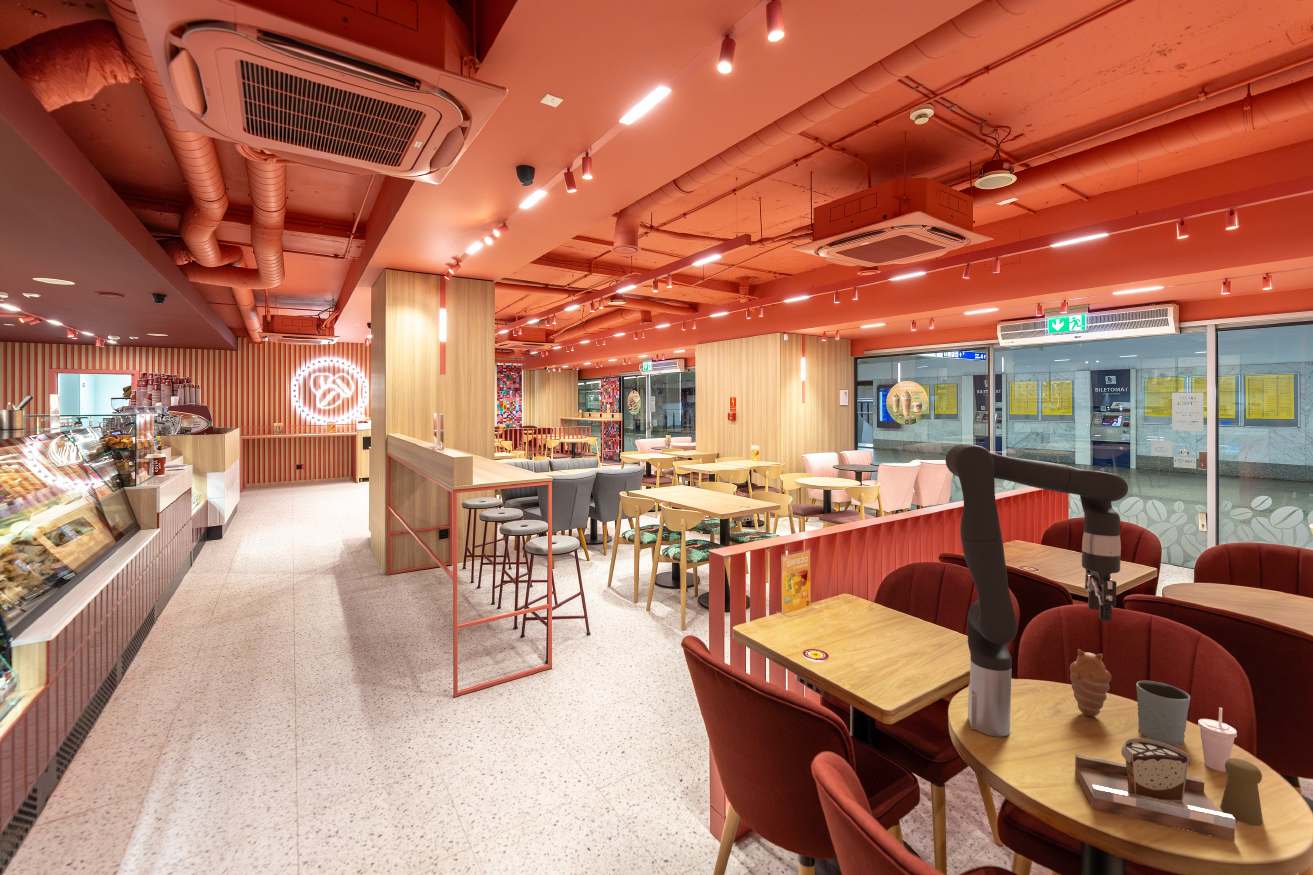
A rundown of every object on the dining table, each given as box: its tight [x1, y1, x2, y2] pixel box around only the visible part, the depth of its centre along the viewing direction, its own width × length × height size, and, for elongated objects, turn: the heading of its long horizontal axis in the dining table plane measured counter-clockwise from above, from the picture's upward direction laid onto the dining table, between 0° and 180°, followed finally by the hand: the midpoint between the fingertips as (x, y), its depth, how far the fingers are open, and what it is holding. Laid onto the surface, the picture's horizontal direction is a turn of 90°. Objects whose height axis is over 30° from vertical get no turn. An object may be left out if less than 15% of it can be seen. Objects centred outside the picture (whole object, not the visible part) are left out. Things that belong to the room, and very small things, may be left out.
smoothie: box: [1197, 707, 1238, 773], centre depth 127 cm, size 6×6×14 cm
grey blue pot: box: [1135, 680, 1191, 746], centre depth 139 cm, size 10×10×12 cm
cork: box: [1219, 757, 1264, 827], centre depth 112 cm, size 6×6×11 cm
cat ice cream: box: [1069, 648, 1112, 717], centre depth 149 cm, size 9×8×18 cm
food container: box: [1121, 737, 1192, 802], centre depth 115 cm, size 12×6×10 cm, turn 87°
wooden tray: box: [1074, 754, 1236, 842], centre depth 115 cm, size 22×13×4 cm, turn 67°
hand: (1099, 614), depth 137 cm, fingers open, 8 cm apart
